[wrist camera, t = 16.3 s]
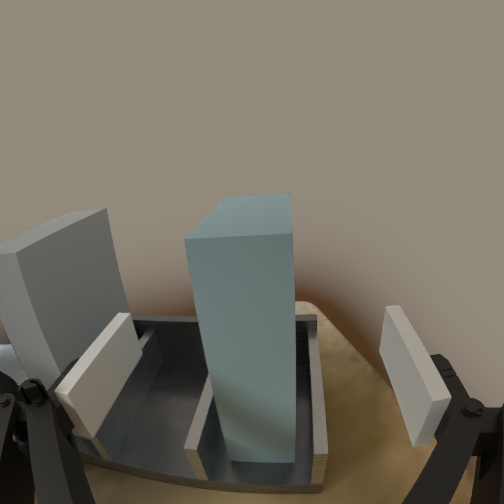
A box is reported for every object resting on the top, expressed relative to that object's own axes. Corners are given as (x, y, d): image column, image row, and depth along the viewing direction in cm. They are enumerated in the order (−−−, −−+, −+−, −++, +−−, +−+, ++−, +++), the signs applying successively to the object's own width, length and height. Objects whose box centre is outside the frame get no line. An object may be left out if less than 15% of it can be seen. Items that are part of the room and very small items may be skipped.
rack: (45, 445, 19) (3, 382, 17) (106, 359, 33) (85, 301, 30) (320, 492, 16) (331, 431, 14) (314, 368, 30) (316, 301, 27)
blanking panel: (229, 460, 19) (184, 238, 13) (246, 372, 28) (226, 197, 23) (295, 462, 18) (292, 233, 13) (295, 372, 27) (290, 193, 22)
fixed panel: (59, 430, 20) (-21, 255, 15) (109, 359, 30) (67, 213, 25) (99, 442, 20) (15, 252, 14) (145, 363, 30) (106, 207, 24)
